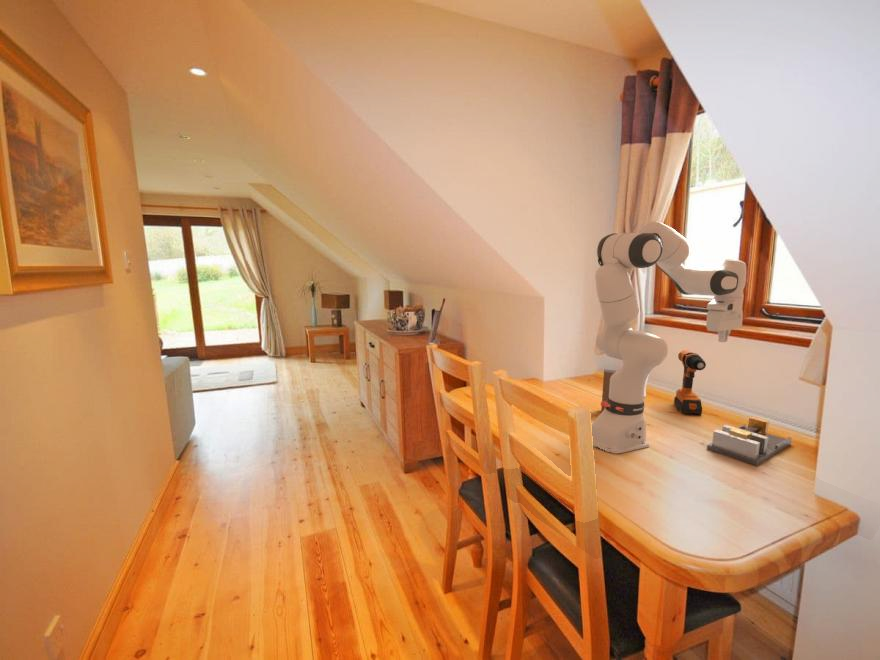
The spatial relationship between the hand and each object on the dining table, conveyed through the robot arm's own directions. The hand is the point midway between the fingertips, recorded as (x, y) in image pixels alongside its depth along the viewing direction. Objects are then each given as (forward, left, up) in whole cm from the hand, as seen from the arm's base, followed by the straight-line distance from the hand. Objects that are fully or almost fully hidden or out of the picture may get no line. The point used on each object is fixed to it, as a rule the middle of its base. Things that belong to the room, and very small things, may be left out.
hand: (722, 341), depth 150 cm
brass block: (-18, -15, -31) cm, 39 cm away
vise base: (-10, -15, -33) cm, 37 cm away
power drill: (+8, +13, -33) cm, 36 cm away
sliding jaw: (-10, -15, -31) cm, 36 cm away
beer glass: (+11, +37, -33) cm, 51 cm away
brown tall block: (-21, +29, -33) cm, 48 cm away
